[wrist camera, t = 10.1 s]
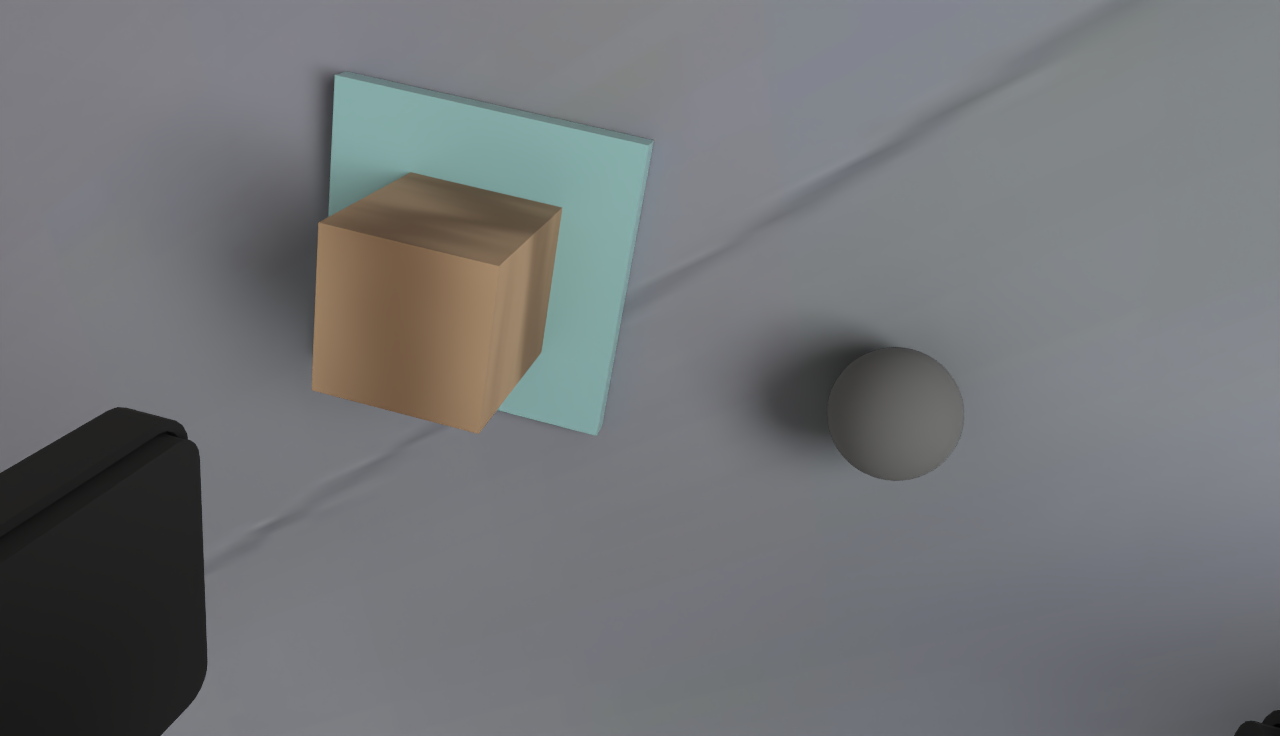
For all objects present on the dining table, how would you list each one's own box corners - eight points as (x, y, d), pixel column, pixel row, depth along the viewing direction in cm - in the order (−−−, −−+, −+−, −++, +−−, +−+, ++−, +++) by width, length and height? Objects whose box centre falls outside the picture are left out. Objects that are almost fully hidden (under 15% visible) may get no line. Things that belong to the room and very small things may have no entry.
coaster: (653, 140, 31) (648, 145, 31) (602, 425, 36) (596, 436, 35) (346, 71, 32) (334, 75, 32) (332, 355, 37) (321, 364, 36)
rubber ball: (976, 345, 32) (988, 399, 28) (937, 456, 34) (945, 520, 30) (847, 314, 32) (844, 364, 29) (816, 425, 34) (809, 485, 30)
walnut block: (562, 207, 32) (499, 266, 27) (541, 352, 34) (478, 433, 29) (410, 172, 33) (318, 222, 27) (399, 316, 35) (311, 390, 29)
